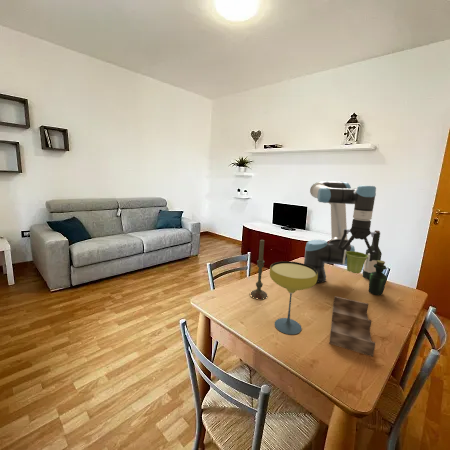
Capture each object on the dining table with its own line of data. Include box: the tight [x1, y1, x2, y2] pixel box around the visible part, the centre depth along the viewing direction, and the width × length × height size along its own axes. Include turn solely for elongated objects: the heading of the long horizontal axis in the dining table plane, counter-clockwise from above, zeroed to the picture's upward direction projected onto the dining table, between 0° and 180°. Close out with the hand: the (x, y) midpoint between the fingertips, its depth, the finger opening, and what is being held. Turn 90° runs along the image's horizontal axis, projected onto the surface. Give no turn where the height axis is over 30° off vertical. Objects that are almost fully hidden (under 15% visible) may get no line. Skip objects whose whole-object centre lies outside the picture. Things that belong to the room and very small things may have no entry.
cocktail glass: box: [269, 260, 318, 336], centre depth 97 cm, size 18×18×25 cm
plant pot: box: [346, 251, 368, 274], centre depth 116 cm, size 9×9×9 cm
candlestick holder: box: [250, 239, 268, 300], centre depth 121 cm, size 9×9×30 cm
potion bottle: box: [368, 260, 388, 296], centre depth 129 cm, size 8×8×18 cm
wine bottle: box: [362, 230, 383, 280], centre depth 149 cm, size 8×8×30 cm
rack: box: [329, 295, 376, 357], centre depth 99 cm, size 14×30×5 cm, turn 154°
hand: (355, 265), depth 116 cm, fingers closed on plant pot, 9 cm apart
